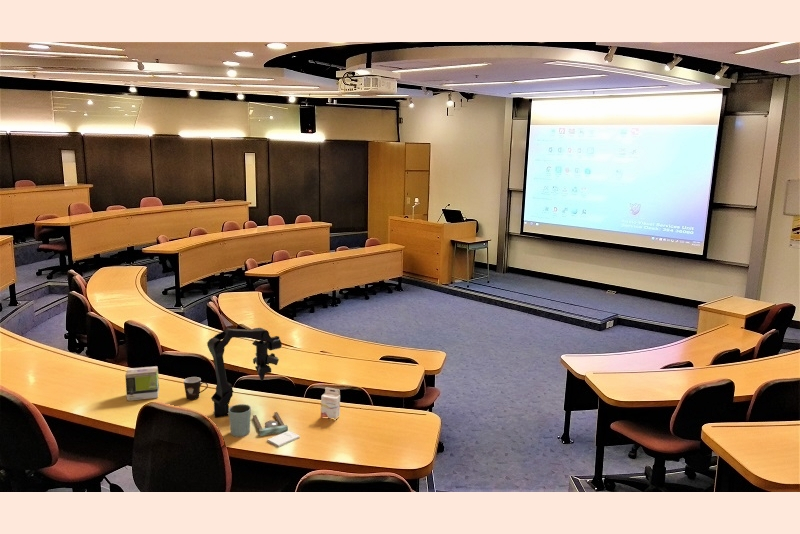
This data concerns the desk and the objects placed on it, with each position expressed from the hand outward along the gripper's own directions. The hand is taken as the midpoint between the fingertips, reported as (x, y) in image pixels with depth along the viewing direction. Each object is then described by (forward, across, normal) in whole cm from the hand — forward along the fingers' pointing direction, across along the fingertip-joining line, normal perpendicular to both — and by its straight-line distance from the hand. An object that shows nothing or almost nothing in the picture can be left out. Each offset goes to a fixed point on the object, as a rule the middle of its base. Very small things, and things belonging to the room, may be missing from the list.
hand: (262, 380), depth 297 cm
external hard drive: (+13, -45, -1) cm, 47 cm away
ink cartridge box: (+12, -30, -28) cm, 43 cm away
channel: (+12, -27, +2) cm, 29 cm away
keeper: (+12, -32, +2) cm, 34 cm away
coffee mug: (+12, +17, +32) cm, 38 cm away
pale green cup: (+12, -31, +16) cm, 37 cm away
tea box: (+12, +29, +57) cm, 65 cm away
